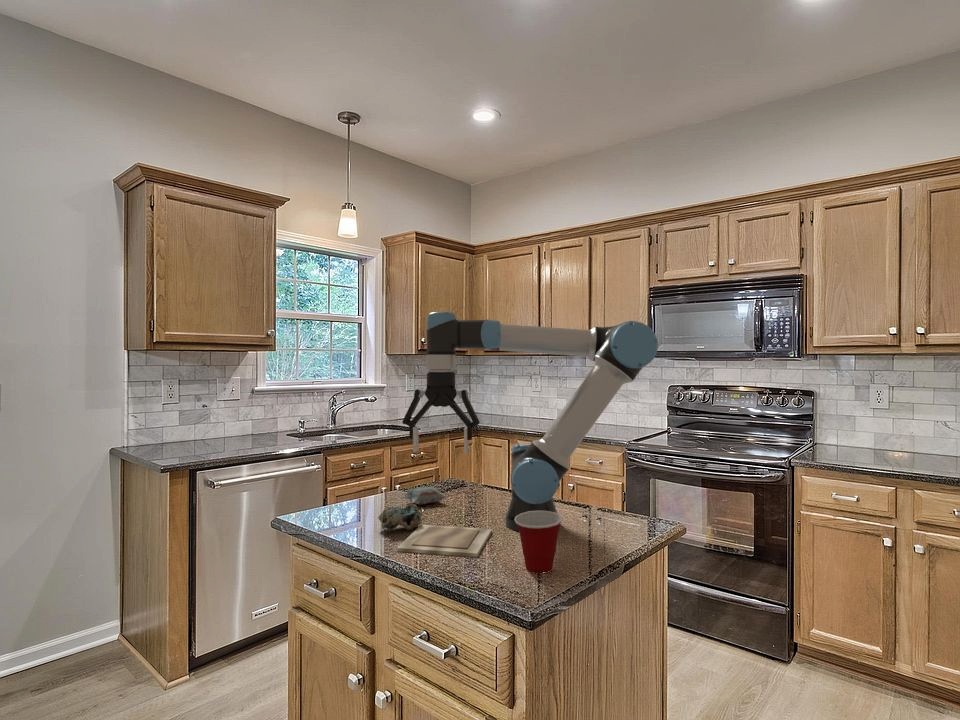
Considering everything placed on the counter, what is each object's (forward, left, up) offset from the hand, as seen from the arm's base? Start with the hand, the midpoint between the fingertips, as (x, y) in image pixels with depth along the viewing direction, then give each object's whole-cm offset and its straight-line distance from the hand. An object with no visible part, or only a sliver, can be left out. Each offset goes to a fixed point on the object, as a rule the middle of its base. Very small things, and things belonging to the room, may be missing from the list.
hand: (440, 452), depth 152 cm
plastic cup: (-27, +17, -23) cm, 40 cm away
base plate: (-2, +2, -23) cm, 23 cm away
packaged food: (+16, -30, -24) cm, 41 cm away
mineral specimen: (+14, -5, -23) cm, 27 cm away
